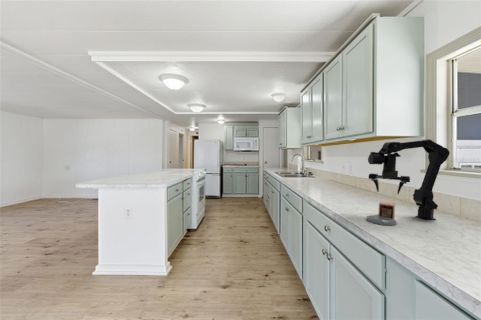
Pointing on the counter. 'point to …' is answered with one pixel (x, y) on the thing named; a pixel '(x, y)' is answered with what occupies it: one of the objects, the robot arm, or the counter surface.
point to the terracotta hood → (387, 204)
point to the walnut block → (387, 212)
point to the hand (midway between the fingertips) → (387, 193)
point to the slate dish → (381, 220)
